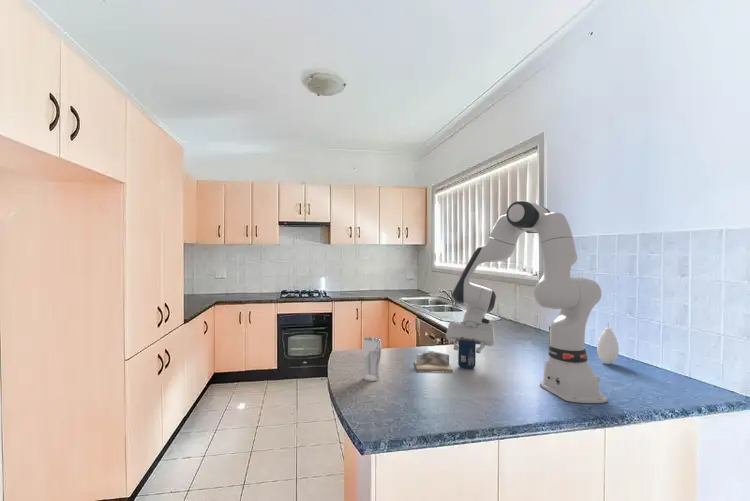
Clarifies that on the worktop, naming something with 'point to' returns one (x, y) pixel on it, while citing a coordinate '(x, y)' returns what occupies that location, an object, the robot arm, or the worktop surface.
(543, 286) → the robot arm
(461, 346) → the soda can
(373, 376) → the beer glass
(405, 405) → the worktop surface
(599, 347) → the white tall egg shape
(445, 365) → the napkin holder
